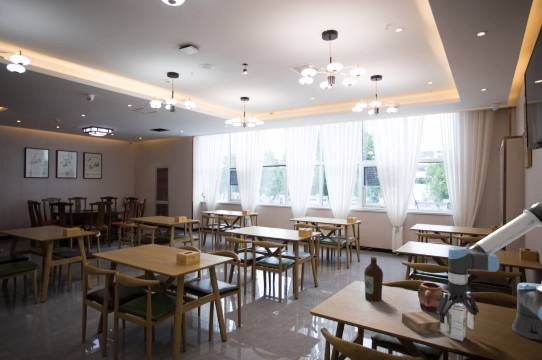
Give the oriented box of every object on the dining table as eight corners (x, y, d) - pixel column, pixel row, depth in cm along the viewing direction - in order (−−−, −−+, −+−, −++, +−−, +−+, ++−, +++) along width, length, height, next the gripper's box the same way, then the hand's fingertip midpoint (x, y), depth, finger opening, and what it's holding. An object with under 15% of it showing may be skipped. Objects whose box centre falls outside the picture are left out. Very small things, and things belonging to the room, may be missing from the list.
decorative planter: (440, 319, 165) (440, 292, 165) (414, 313, 172) (415, 287, 172) (443, 306, 182) (444, 281, 182) (420, 302, 189) (420, 278, 189)
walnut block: (422, 321, 163) (423, 311, 164) (440, 332, 152) (440, 321, 152) (401, 323, 161) (402, 313, 161) (417, 334, 149) (418, 323, 149)
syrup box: (451, 333, 150) (451, 301, 150) (465, 337, 147) (466, 305, 147) (448, 337, 146) (448, 305, 146) (463, 341, 142) (463, 308, 142)
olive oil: (373, 294, 200) (373, 254, 200) (386, 300, 191) (387, 258, 191) (360, 297, 195) (360, 256, 195) (373, 303, 186) (373, 260, 186)
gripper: (475, 278, 152) (474, 323, 152) (427, 280, 148) (427, 327, 148) (488, 283, 145) (488, 330, 145) (438, 285, 140) (438, 334, 140)
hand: (457, 329), depth 146 cm, fingers open, 13 cm apart
